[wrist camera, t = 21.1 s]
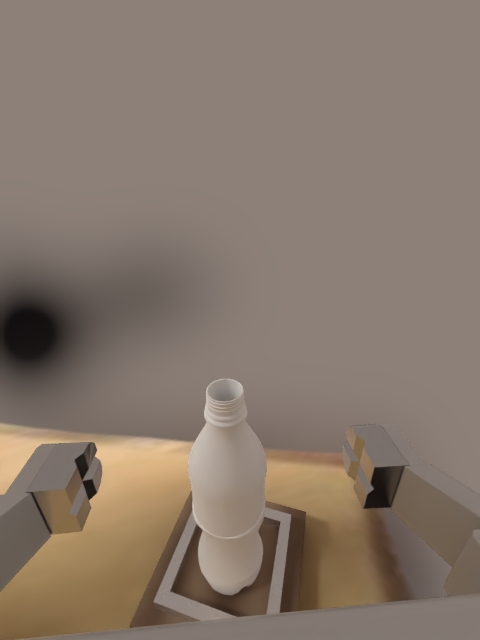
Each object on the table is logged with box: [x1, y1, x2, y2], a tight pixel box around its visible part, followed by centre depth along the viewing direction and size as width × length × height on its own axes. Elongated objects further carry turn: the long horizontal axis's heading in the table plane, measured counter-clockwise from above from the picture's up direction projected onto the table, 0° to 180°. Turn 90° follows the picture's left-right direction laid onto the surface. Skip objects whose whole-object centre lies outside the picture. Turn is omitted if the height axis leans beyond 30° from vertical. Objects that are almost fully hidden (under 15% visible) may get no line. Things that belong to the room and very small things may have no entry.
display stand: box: [130, 490, 306, 628], centre depth 34 cm, size 16×16×4 cm
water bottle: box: [188, 379, 267, 595], centre depth 28 cm, size 7×7×25 cm
